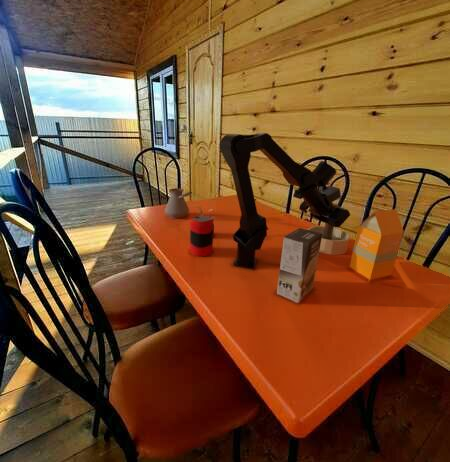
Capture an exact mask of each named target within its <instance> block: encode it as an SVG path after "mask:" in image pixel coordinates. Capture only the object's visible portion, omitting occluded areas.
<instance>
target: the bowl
mask: <svg viewBox="0 0 450 462" xmlns="http://www.w3.org/2000/svg"><path fill="white" fill-rule="evenodd" d="M324 228H325V225H316V226H315V225H313V226H311V227H308V228H307V230H311V231H314V232H318V233H321V234H322V239H321V244H320V250H319V254H323V255H329V256H330V255H331V256H338V255H344V254H346V253H347V252H348V250H349V245H350V241H351V235H350V234H349V233H348V232H347V231H345V230H343V229H340V228H338V227H334V229H333V234H332V239H331V240H328V239H323V234H324Z"/></svg>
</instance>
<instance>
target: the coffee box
mask: <svg viewBox="0 0 450 462" xmlns="http://www.w3.org/2000/svg"><path fill="white" fill-rule="evenodd" d="M321 239H322V234H321V233H318V232H314V231H311V230H308V229H305V228H301V227H299V228H297V229H295V230H293V231H292V232H290V233H288V234H286V235H284V236H283V242H282V250H281V257H280V265H279V272H278V273H279V274H278V280H277V290H276V294H277V295H278V296H281V297H284V298H286V299H288V300H290V301H292V302H294V303H296V304H300V303H301V302H302V301H303V299H304V298H305V297H306V296H307V295H308V294H309V293H310V292H311V291H312V290H313V288H314V283H315V278H316V274H317V273H316V272H317V267H318V261H319V256H320V252H319V250H320V244H321Z"/></svg>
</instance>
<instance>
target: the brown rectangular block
mask: <svg viewBox="0 0 450 462" xmlns="http://www.w3.org/2000/svg"><path fill="white" fill-rule="evenodd" d="M331 207H335V208H336V207H339V204H337V203H334V202H333V205H332V206H330V207H329V208H331ZM324 226H325V228H324V234H323V239H328V240H331V239H332V234H333V229H334V228H335V227H333V226H331V225H329V224H327V223H324Z"/></svg>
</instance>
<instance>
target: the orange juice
mask: <svg viewBox="0 0 450 462" xmlns="http://www.w3.org/2000/svg"><path fill="white" fill-rule="evenodd" d="M402 225H403V224H402V223H401V220H400V216H399V213H398V210H397V208H394V209H393V208H392V209H383V210H375V211H373V212H372V213H371V214H370V215H369V216H368V217H367V218H366V219H365V220H364V221H362V222H361V223H360V224H359V225H358V227H357V232H356V236H355V240H354V244H353V247H352V253H351V258H350V263H349V268H351V269H352V270H354V272H357V273H358V274H360V275H361V276H363V277H365V278H367V279H366V281H367V282H369V283H370V282H372V280H374V279H375V280H376V279H380V278H385V277H388V276H392V274H393V271H394V267H395V263H396V261H397V257H398V254H399V250H400V247H401V243H402V239H403V236H404V233H405V231H404V228H403V226H402Z"/></svg>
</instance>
